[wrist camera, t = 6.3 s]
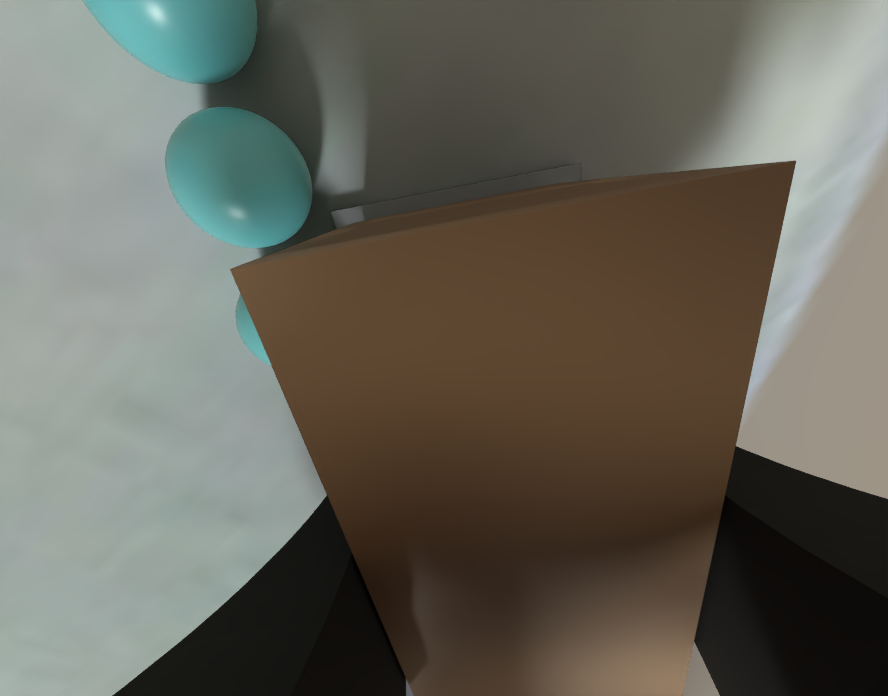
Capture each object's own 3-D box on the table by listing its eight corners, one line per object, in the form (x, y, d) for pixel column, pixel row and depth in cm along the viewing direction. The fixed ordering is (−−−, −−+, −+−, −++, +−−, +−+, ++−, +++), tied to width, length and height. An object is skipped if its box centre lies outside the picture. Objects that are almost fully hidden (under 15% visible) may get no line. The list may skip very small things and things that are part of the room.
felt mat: (577, 489, 15) (581, 496, 15) (423, 514, 16) (423, 522, 15) (575, 163, 10) (580, 163, 9) (334, 210, 10) (330, 211, 10)
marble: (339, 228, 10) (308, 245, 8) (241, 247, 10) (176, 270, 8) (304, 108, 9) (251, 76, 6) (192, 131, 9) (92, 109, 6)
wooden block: (570, 505, 14) (674, 733, 8) (436, 526, 14) (443, 765, 8) (557, 182, 9) (797, 159, 3) (355, 222, 9) (230, 269, 3)
